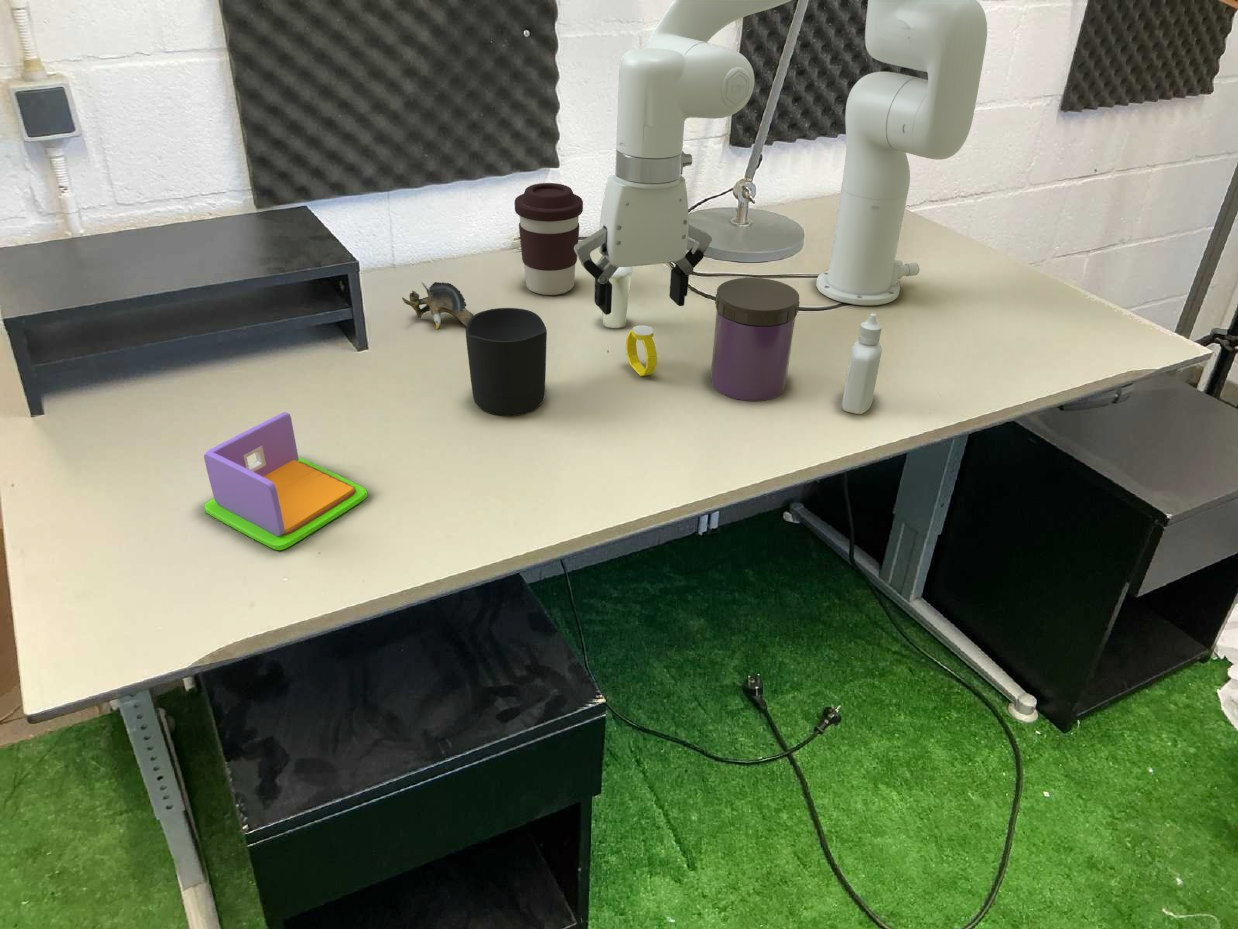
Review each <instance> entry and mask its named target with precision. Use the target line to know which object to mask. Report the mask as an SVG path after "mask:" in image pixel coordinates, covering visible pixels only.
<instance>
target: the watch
mask: <svg viewBox="0 0 1238 929" xmlns="http://www.w3.org/2000/svg"><path fill="white" fill-rule="evenodd" d="M654 334H655V331H654V328H653V327H651V326H650V325H649V326H648V325H641V324H640V325H636V326H633V327H632V328H631V330H630V331H629V332H628V334H627V336H626V340H625V341H626V342H625V350H626V351H625V352H626V356H627V360H628V363H629V367H631V368H632V369H633V371H635V372H636V373H637V375H639V377H645V376H650V375H652V374H654V372H655V371H656V369H657V365H658V353H657V352H658V351H657V347H656V343H655V341H654V339H653V337H654ZM637 340H640V341H641V342H642V344H643V347H644V352H645V357H646V363H645V366H644V365H643V364H642V363H641V362H640V359H639V358H640V357H639V356H638V355H639V354H638V347H637Z"/></svg>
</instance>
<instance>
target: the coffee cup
mask: <svg viewBox="0 0 1238 929" xmlns="http://www.w3.org/2000/svg"><path fill="white" fill-rule="evenodd" d="M514 212H515V214H517V215H518V217H519V222H518V232H519V241H520V250H521V259H522V260H521V261H522V263H523V266H524V276H525V286H526V288H527V289H528V290H529V291H530V292H532V293H533V294H537V295H542V296H558V295H562V294H566V293H568V292H570V291H571V290H573V288H574V285H575V274H576V264H577V261H578V256H577V254H576V253H575V251H574V246H575V245H576V244H578V243H579V237H580V222H579V218H580V217H579V216H580V215H582V214H583V212H584V201H583V198H582V197H580V196H579V195H577V194H576V193H574V191H573V189H572V188H571V187H570V186H568V185H565V184H563V183H558V182H557V183H554V182H541V183H534V184H530V185H528V186H527V187H526V188H525V189H524V192H523V193H522V194H520V195H518V196H517V197H515V199H514Z"/></svg>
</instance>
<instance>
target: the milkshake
mask: <svg viewBox="0 0 1238 929" xmlns="http://www.w3.org/2000/svg"><path fill="white" fill-rule="evenodd" d="M632 276H633V267H619V268H618V269H617V270H616V271H615V273H614V274H613V275H612V276H611V278H610V279H609V282H610V283H611V284H612V307H611V313H610V314H607V315H605V314H604V313H603V312H602V311H601V313H602V324H603V325H604V326H605V327H606V328H610V329H620V328H623V327H625V326H626V323H627V315H628V307H629V297H630V289H631V284H632V278H633V277H632Z"/></svg>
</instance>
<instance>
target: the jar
mask: <svg viewBox="0 0 1238 929" xmlns="http://www.w3.org/2000/svg"><path fill="white" fill-rule="evenodd" d="M795 323H796V317H795V318H794V319H792V320H791V321H789V322H786V323H783V324H778V325H771V326H757V325H748V324H743V323H738V322H735V321H732V320H730V319H728V318H725V317H724V316H722V315H721V314H720V313H719V312H718V311H717V310H715V324H714V335H713V346H712V354H711V355H712V357H711V368H710V377H709V378H710V380H709V381H710V384H711V386H712V387H713V388H714V389H715V390H716V391H717V392H718V393H720V394H721V395H723V396H726V397H729V398H731V399H735V400H739V401H740V400H741V401H748V402H759V401H760V402H761V401H767V400H772V399H774V398H777V397H779V396H781V395H782V394H783V393H784V392H785V391H786V388H787V382H788V374H789V366H790V361H791V360H790V359H791V351H792V347H793V346H792V345H793V338H794V331H795Z"/></svg>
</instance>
